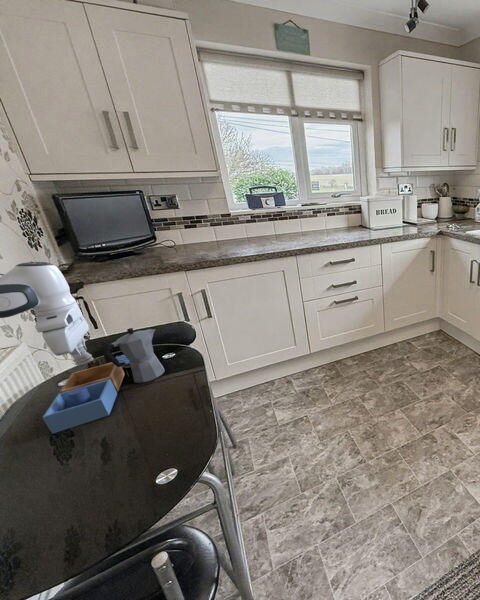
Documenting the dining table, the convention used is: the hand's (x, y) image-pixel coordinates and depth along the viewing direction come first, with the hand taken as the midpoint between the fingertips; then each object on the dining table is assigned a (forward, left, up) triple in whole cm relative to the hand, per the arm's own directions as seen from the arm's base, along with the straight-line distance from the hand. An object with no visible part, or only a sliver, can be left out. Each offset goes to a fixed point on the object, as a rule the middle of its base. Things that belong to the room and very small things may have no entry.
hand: (81, 355), depth 102 cm
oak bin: (0, 0, -13) cm, 13 cm away
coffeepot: (+13, -2, -13) cm, 19 cm away
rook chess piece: (0, 0, -3) cm, 3 cm away
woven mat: (+6, +15, -13) cm, 21 cm away
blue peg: (0, -13, -12) cm, 18 cm away
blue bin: (0, -14, -13) cm, 19 cm away
